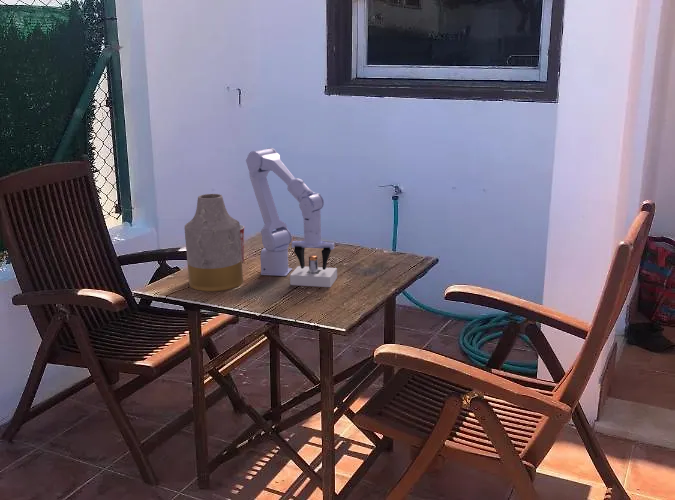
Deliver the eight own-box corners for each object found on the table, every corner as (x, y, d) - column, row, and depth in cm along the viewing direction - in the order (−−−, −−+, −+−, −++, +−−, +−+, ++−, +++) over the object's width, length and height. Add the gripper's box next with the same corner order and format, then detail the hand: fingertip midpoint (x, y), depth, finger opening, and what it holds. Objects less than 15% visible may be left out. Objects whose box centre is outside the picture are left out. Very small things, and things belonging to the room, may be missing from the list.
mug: (251, 260, 275) (249, 225, 271) (237, 266, 267) (234, 231, 264) (224, 255, 281) (222, 222, 277) (209, 262, 273) (207, 227, 269)
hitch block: (290, 284, 247) (289, 275, 246) (298, 275, 256) (298, 266, 255) (330, 287, 244) (330, 277, 243) (337, 277, 253) (336, 268, 252)
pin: (308, 282, 249) (307, 257, 246) (311, 279, 252) (310, 254, 249) (316, 283, 248) (315, 258, 245) (319, 280, 251) (318, 255, 248)
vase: (196, 295, 239) (188, 204, 231) (184, 278, 256) (176, 193, 247) (249, 286, 246) (244, 198, 238) (234, 271, 262) (229, 188, 254)
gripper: (288, 232, 243) (289, 270, 247) (330, 233, 239) (331, 272, 243) (294, 226, 249) (295, 264, 253) (335, 228, 246) (336, 266, 250)
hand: (313, 268), depth 249 cm, fingers open, 7 cm apart
